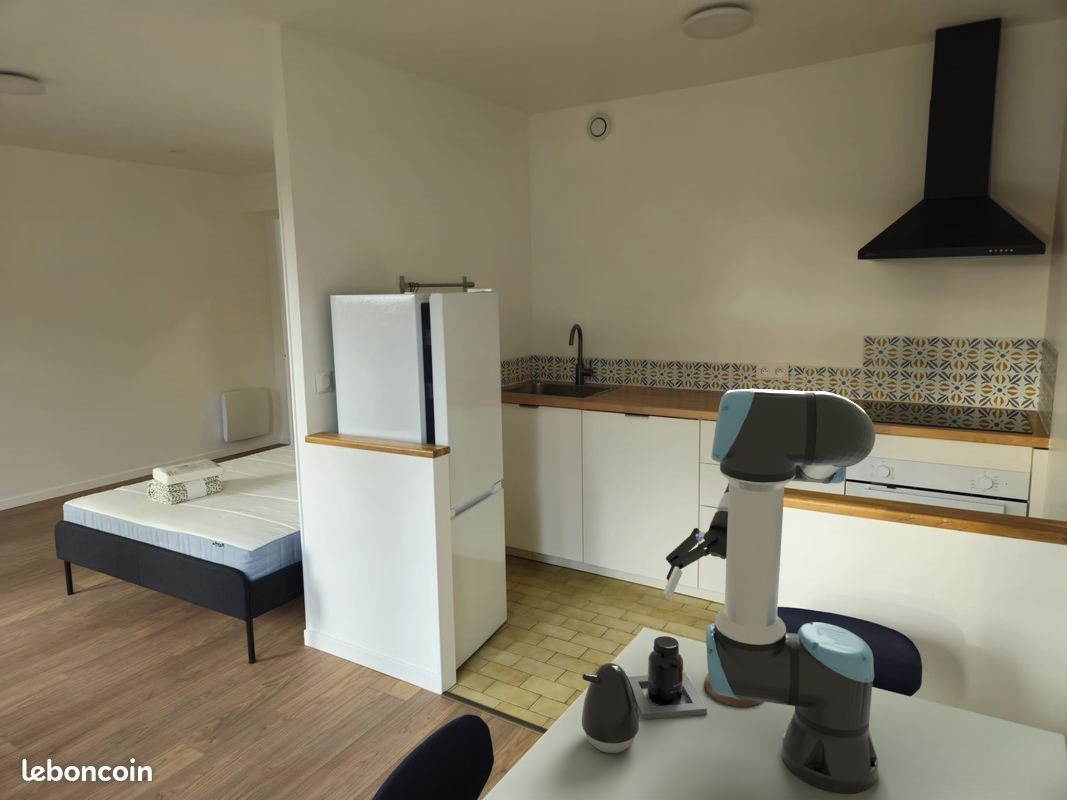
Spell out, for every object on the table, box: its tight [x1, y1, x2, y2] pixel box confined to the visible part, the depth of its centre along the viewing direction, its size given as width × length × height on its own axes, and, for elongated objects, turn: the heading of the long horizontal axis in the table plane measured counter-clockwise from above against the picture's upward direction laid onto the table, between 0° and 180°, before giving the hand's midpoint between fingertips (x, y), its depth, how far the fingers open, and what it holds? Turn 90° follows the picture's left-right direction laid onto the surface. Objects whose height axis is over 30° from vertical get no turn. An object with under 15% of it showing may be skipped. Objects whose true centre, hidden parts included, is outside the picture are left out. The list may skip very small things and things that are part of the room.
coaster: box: [704, 672, 762, 708], centre depth 141 cm, size 12×12×1 cm
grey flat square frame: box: [628, 671, 708, 721], centre depth 138 cm, size 13×13×1 cm
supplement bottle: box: [647, 635, 684, 706], centre depth 137 cm, size 7×7×12 cm
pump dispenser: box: [581, 662, 640, 754], centre depth 123 cm, size 10×10×15 cm
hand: (694, 606), depth 143 cm, fingers open, 13 cm apart
